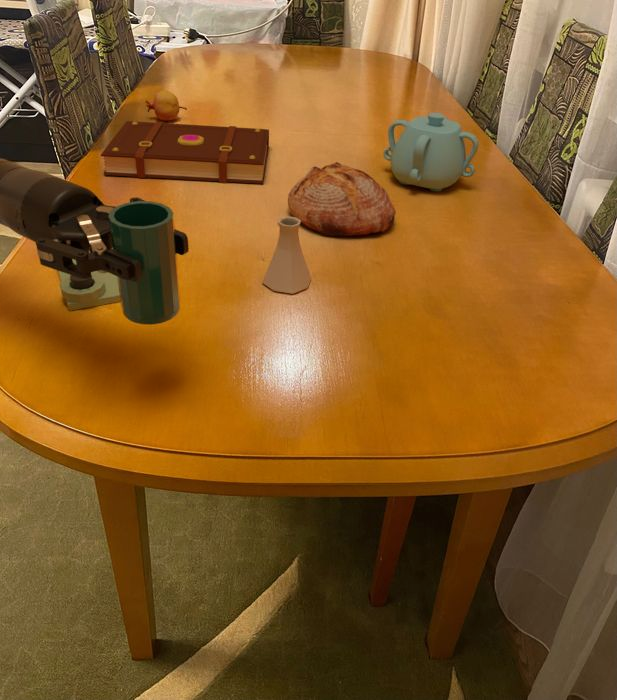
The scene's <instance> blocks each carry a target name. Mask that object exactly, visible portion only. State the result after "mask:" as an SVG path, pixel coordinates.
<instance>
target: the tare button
mask: <svg viewBox="0 0 617 700" xmlns="http://www.w3.org/2000/svg"><path fill="white" fill-rule="evenodd" d="M70 280H71V285H72V288H73V289H76V290H83V289H88V288H90V287H92V286H93V280H92V275H91V277H89V278H87V279H81V278H78V277H75V276H73V275H70Z"/></svg>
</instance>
